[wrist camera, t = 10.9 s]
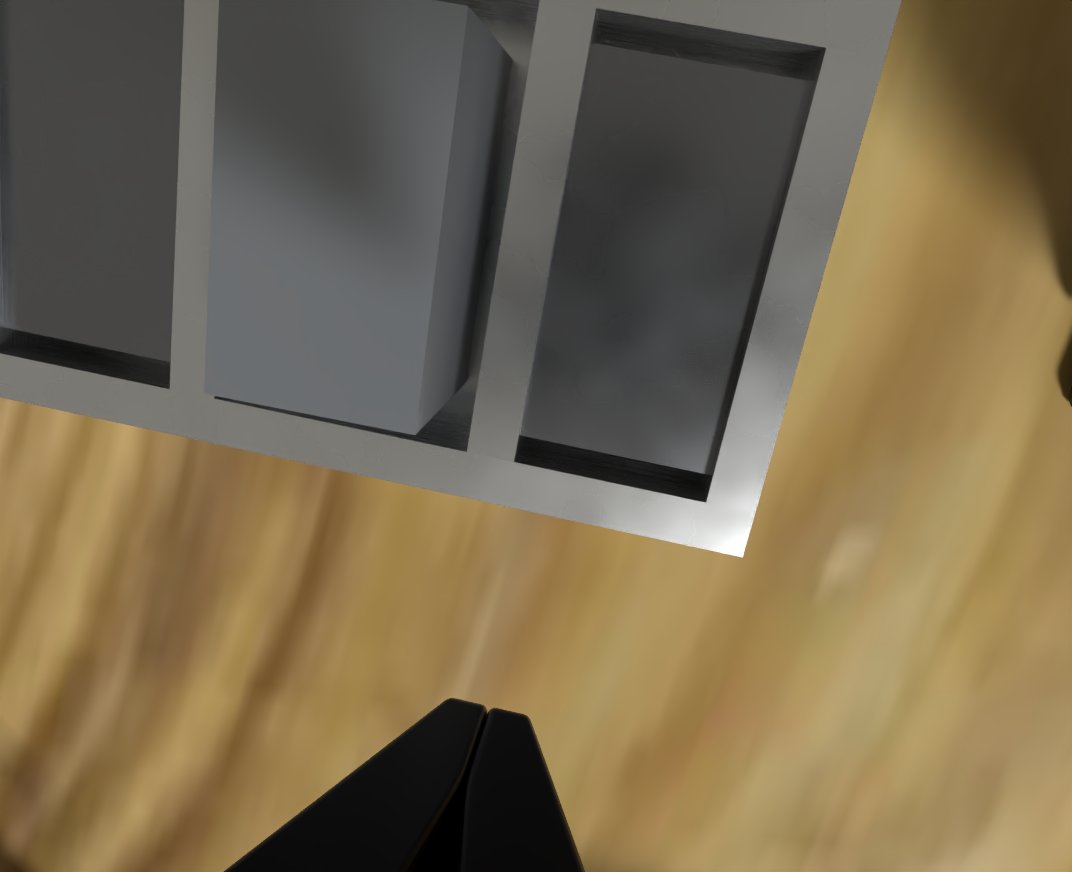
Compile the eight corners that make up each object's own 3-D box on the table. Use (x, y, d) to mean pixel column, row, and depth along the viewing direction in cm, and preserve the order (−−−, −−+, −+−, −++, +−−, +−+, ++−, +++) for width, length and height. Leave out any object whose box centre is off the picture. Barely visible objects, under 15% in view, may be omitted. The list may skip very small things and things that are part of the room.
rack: (853, 20, 16) (909, -28, 13) (724, 497, 19) (742, 557, 16) (62, -113, 17) (-76, -191, 14) (63, 358, 21) (-47, 387, 17)
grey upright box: (512, 59, 16) (468, 5, 12) (466, 381, 18) (414, 434, 14) (327, 29, 17) (220, -33, 12) (303, 350, 19) (203, 394, 14)
